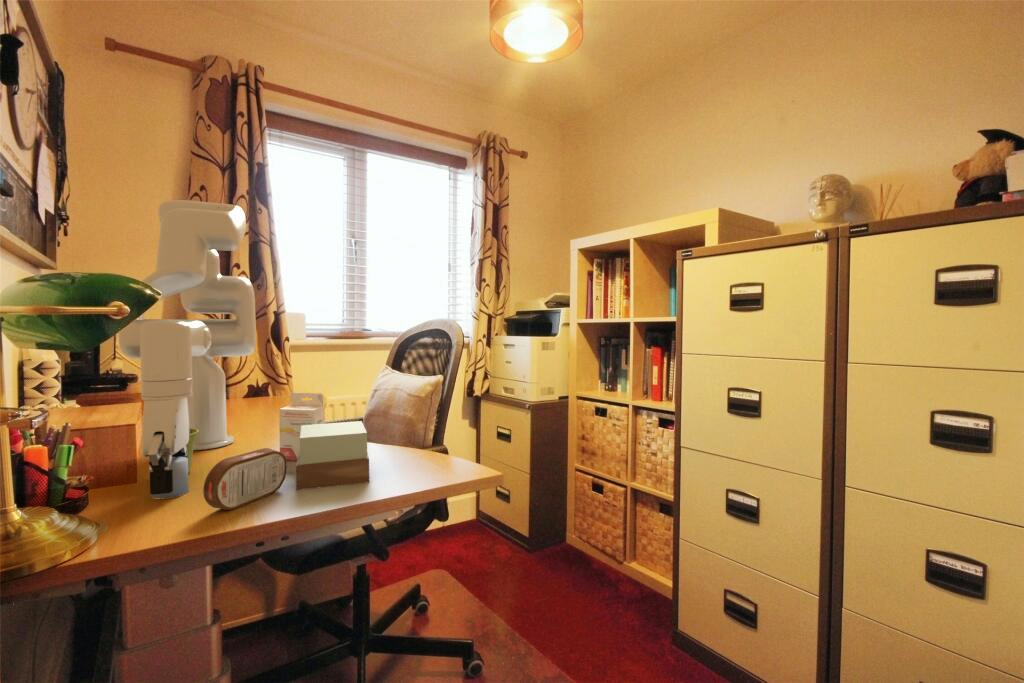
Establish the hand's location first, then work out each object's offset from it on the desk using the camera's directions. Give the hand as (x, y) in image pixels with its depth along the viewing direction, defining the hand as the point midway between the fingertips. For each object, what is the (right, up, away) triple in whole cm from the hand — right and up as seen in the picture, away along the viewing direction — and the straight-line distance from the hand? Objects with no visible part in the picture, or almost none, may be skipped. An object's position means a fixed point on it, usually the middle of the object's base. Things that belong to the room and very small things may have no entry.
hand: (170, 484), depth 88 cm
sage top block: (+26, +3, +10) cm, 28 cm away
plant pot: (-7, -1, +10) cm, 12 cm away
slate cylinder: (0, -2, 0) cm, 2 cm away
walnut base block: (+26, -2, +11) cm, 28 cm away
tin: (+16, -2, -3) cm, 17 cm away
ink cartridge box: (+14, -1, +23) cm, 27 cm away
